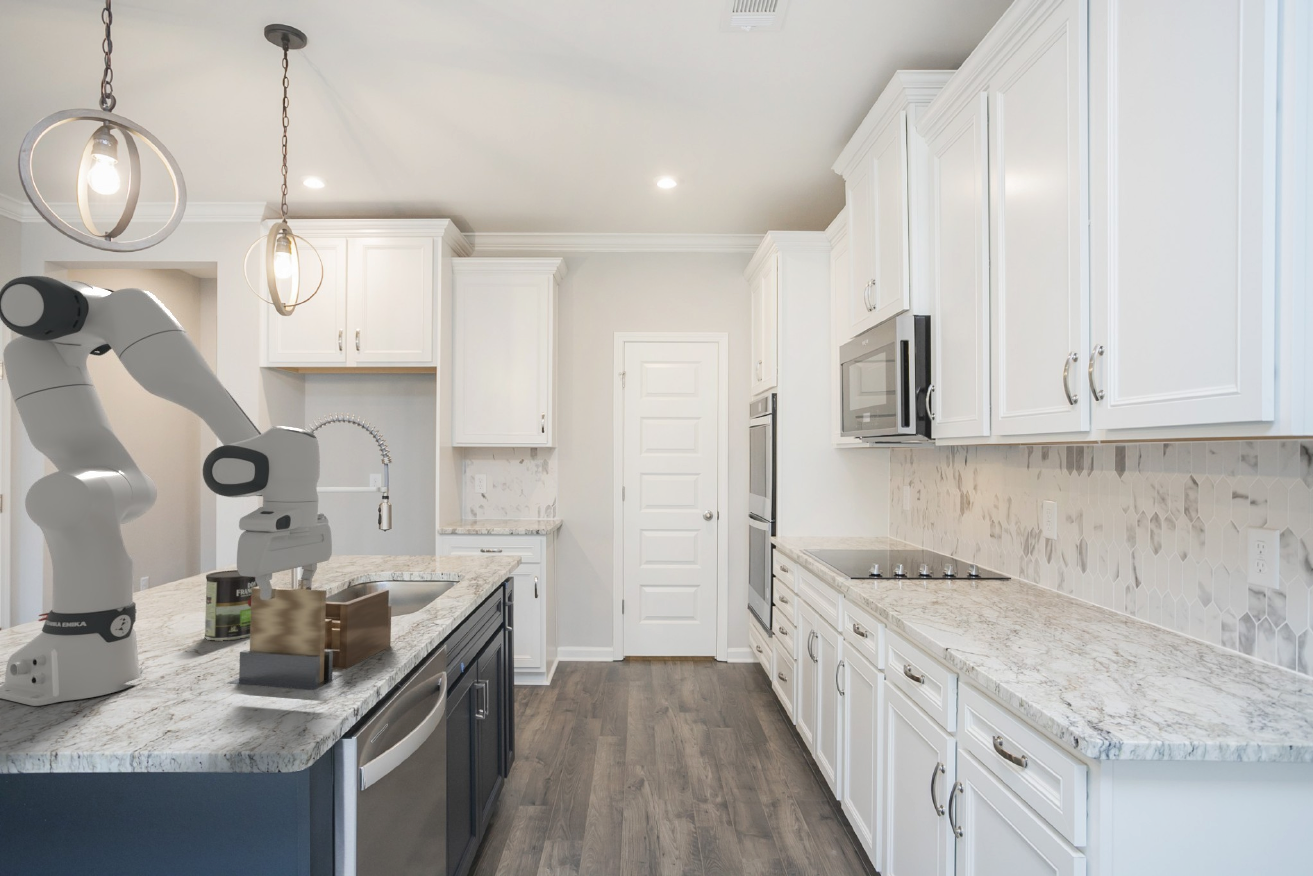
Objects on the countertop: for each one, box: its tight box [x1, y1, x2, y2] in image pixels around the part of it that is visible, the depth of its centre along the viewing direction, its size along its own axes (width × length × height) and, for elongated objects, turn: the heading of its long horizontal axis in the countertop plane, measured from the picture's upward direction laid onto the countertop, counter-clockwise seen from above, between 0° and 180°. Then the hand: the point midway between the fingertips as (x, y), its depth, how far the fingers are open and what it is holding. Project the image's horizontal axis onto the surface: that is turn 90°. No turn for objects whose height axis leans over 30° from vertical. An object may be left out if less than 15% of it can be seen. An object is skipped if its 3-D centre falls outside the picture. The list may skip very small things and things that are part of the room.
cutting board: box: [249, 587, 327, 683], centre depth 121 cm, size 14×1×16 cm, turn 81°
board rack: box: [294, 587, 392, 670], centre depth 137 cm, size 20×16×14 cm
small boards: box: [325, 619, 340, 649], centre depth 134 cm, size 14×4×8 cm, turn 80°
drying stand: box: [227, 649, 344, 691], centre depth 121 cm, size 17×8×6 cm, turn 80°
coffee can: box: [204, 569, 258, 642], centre depth 155 cm, size 10×10×14 cm
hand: (286, 593), depth 121 cm, fingers open, 8 cm apart
